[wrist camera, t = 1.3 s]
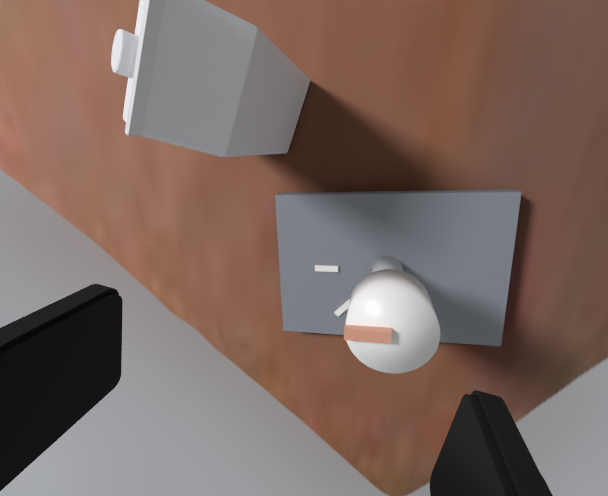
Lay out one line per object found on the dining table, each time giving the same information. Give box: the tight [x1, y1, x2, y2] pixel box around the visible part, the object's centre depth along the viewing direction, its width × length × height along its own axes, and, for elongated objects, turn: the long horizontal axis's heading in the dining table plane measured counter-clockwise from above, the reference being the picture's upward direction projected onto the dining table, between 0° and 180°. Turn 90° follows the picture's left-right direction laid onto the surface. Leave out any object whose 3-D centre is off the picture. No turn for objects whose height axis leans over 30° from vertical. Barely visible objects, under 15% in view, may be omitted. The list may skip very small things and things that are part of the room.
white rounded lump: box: [344, 269, 440, 373], centre depth 24 cm, size 6×6×5 cm
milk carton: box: [111, 0, 310, 157], centre depth 25 cm, size 7×7×19 cm
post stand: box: [275, 189, 521, 346], centre depth 31 cm, size 22×15×10 cm
